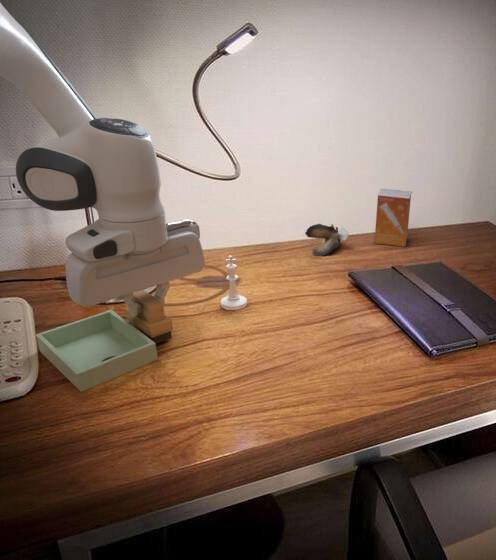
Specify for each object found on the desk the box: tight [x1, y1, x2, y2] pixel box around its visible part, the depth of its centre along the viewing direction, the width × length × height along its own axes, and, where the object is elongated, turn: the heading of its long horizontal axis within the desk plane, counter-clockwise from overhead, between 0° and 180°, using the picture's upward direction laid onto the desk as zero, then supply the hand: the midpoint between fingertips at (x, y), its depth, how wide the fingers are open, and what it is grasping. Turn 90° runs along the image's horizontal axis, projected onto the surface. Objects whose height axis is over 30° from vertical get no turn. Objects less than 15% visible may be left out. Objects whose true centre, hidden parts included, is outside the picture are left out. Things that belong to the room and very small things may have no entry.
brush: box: [124, 289, 174, 345], centre depth 86 cm, size 8×4×6 cm, turn 52°
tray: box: [35, 309, 159, 393], centre depth 81 cm, size 14×11×4 cm
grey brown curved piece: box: [304, 223, 349, 256], centre depth 127 cm, size 8×7×9 cm
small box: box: [374, 188, 412, 248], centre depth 133 cm, size 8×6×13 cm
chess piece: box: [220, 255, 248, 311], centre depth 98 cm, size 5×5×10 cm
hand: (147, 310), depth 85 cm, fingers closed on brush, 2 cm apart
